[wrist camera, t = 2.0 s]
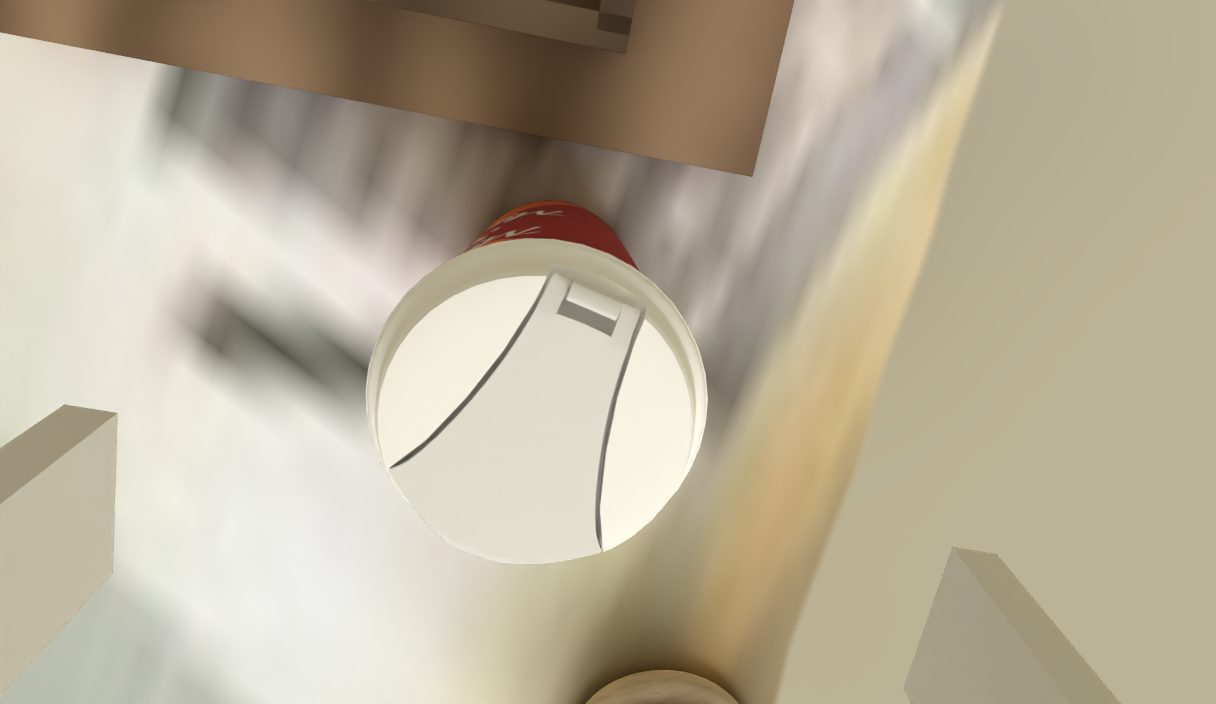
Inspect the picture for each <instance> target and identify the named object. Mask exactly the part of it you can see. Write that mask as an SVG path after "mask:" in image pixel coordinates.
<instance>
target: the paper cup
mask: <svg viewBox="0 0 1216 704" xmlns="http://www.w3.org/2000/svg"><path fill="white" fill-rule="evenodd" d="M707 401H708V396H707V386H706V375H705V370H704V366H703V363H702V359H701V355H700V351H699V348H698V346H697V344H696V342H695V339H694V337H693V335H692V333H691V331H690V328H689V326H688V324H687V323H686V321H685V320H684V318H683V317H682V315H681V314H680V312H679V311H678V309H677V308H676V306H675V305H674V303H673V302H672V301H671V300H670V299H669V298H668V297H667V296H666V295H665V294H664V293H663V292H662V290H661V289H660V288H659V287H658V286H657V285H656V284H655V283H654V282H652V281H651V280H650V279H648V278H647V277H646V276H645V275H643V274H642V273H641V272H640V271H639V270H638V268H637V266H636V265H635V263H634V262H633V260H632V258H631V257H630V255H629V254H628V252H627V250H626V249H625V247H624V246H623V244H622V243H621V241H620V240H619V239H618V237H617V236H616V235H615V233H614V232H613V231H612V230H611V229H610V227H609V226H608V225H607V224H606V223H604V222H603V221H602V220H601V219H600V218H599V217H597V216H596V215H594V214H593V213H591V212H590V211H588V210H586V209H584V208H582V207H579V206H577V205H574V204H571V203H567V202H561V201H537V202H532V203H528V204H525V205H522V206H519V207H517V208H515V209H513V210H511V211H509V212H507V213H506V214H504V215H503V216H501V217H500V218H499V219H497V220H496V221H495V222H494V223H493V224H491V225H490V226H489V227H488V228H487V229H486V230H485V231H484V232H483V233H482V234H481V235H480V236H479V237H478V238H477V239H476V240H475V241H474V242H473V243H472V244H471V245H470V247H469V248H468V249H467V250H466V251H465V252H464V253H463V254H461V255H459V256H457V257H455V258H453V259H450V260H448V261H446V262H445V263H443V264H442V265H440V266H439V267H437V268H436V269H435V270H433V271H432V272H430V273H429V274H427V275H426V276H424V277H423V278H422V279H421V280H420V281H419V282H418V283H417V284H416V285H415V286H414V287H413V288H412V289H411V290H410V291H409V292H408V293H407V294H406V295H404V297H403V298H402V299H401V301H400V302H399V303H398V305H397V306H396V308H395V309H394V310H393V312H392V313H391V314H390V316H389V317H388V319H387V321H386V323H385V325H384V327H383V329H382V331H381V333H380V335H379V337H378V339H377V341H376V343H375V347H374V350H373V353H372V357H371V360H370V363H369V367H368V375H367V384H366V410H367V420H368V424H369V429H370V433H371V438H372V442H373V444H374V447H375V449H376V452H377V454H378V457H379V459H380V462H381V464H382V466H383V467H384V469H385V471H386V472H387V474H388V476H389V477H390V479H391V481H392V482H393V484H394V486H395V487H396V488H397V489H398V490H399V492H400V493H401V494H402V495H403V496H404V498H405V499H406V500H407V501H408V502H409V504H410V505H411V506H412V507H413V508H414V509H415V510H416V511H417V513H418V515H419V516H420V517H421V518H422V519H423V520H424V521H425V522H426V523H427V524H428V525H429V526H430V528H431V529H432V530H433V531H434V532H435V533H436V534H437V535H439V536H440V537H441V538H442V539H443V540H444V541H446V542H447V543H449V544H450V545H452V546H454V547H456V548H458V549H460V550H462V551H464V552H467V553H469V554H472V555H474V556H477V557H480V558H483V559H487V560H491V561H495V562H501V563H522V564H548V563H554V562H560V561H566V560H572V559H577V558H581V557H585V556H589V555H593V554H598V553H601V546H603V552H605V551H607V550H609V549H612V548H614V547H616V546H617V545H619V544H620V543H622V542H624V541H625V540H627V539H629V538H630V537H632V536H633V535H635V534H636V533H637V532H638V531H639V530H641V529H642V528H643V527H644V526H645V525H647V524H648V523H649V522H650V521H651V520H652V519H653V518H654V517H655V516H656V515H657V513H658V512H659V511H660V510H661V509H662V508H663V507H664V505H665V504H666V503H667V502H668V500H669V499H670V498H671V497H672V496H673V494H674V493H675V492H676V491H677V490H678V488H679V487H680V485H681V483H682V482H683V480H684V479H685V477H686V475H687V474H688V472H689V471H690V469H691V467H692V464H693V462H694V460H695V457H696V455H697V453H698V450H699V448H700V445H701V441H702V437H703V432H704V428H705V424H706V414H707Z"/></svg>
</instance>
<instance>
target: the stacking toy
mask: <svg viewBox="0 0 1216 704" xmlns="http://www.w3.org/2000/svg"><path fill="white" fill-rule="evenodd" d="M586 704H739V703H738V702H737V701H736V700H735V699H734V698H733V697H732V696H731V695H730V694H729V693H728V692H726V691H725V690H724V689H723V688H721V687H720V686H718V685H716V684H715V683H713V682H711V681H709V680H707V679H705V678H703V677H700V676H697V675H694V674H692V673H687V672H683V671H676V670H651V671H644V672H639V673H635V674H631V675H628V676H625V677H622V678H620V679H617V680H615V681H613V682H612V683H610V684H608V685H606V686H605V687H603V688H602V689H601V690H599V691H598V692H597V693H596V694H594V695H593V696H592V697H591V698H590V699H589V700H588V701H587V702H586Z"/></svg>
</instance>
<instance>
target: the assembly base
mask: <svg viewBox="0 0 1216 704" xmlns="http://www.w3.org/2000/svg"><path fill="white" fill-rule="evenodd" d="M793 3H794V0H0V32H1V33H7V34H12V35H17V36H22V37H27V38H33V39H38V40H43V41H48V42H53V43H59V44H64V45H69V46H74V47H79V48H85V49H90V50H95V51H100V52H106V53H111V54H116V55H121V56H126V57H132V58H137V59H142V60H147V61H152V62H158V63H163V64H168V65H173V66H178V67H184V68H189V69H194V70H199V71H204V72H210V73H215V74H220V75H225V76H230V77H236V78H241V79H246V80H251V81H256V82H262V83H267V84H272V85H277V86H282V87H288V88H293V89H298V90H303V91H308V92H314V93H319V94H324V95H329V96H334V97H340V98H345V99H350V100H355V101H361V102H366V103H371V104H376V105H381V106H387V107H392V108H397V109H402V110H407V111H413V112H418V113H423V114H428V115H433V116H439V117H444V118H449V119H454V120H459V121H465V122H470V123H475V124H480V125H485V126H491V127H496V128H501V129H506V130H511V131H517V132H522V133H527V134H532V135H537V136H543V137H548V138H553V139H558V140H563V141H569V142H574V143H579V144H584V145H590V146H595V147H600V148H605V149H610V150H616V151H621V152H626V153H631V154H636V155H642V156H647V157H652V158H657V159H662V160H668V161H673V162H678V163H683V164H688V165H694V166H699V167H704V168H709V169H714V170H720V171H725V172H730V173H735V174H740V175H746V176H751V177H753V172H754V168H755V164H756V160H757V155H758V151H759V147H760V143H761V139H762V134H763V130H764V126H765V122H766V117H767V113H768V109H769V105H770V101H771V96H772V92H773V88H774V84H775V79H776V75H777V71H778V67H779V63H780V58H781V54H782V50H783V46H784V41H785V37H786V33H787V29H788V25H789V20H790V16H791V12H792V8H793Z"/></svg>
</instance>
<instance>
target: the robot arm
mask: <svg viewBox="0 0 1216 704" xmlns="http://www.w3.org/2000/svg"><path fill="white" fill-rule="evenodd" d="M117 414H118V413H114V412H107V411H101V410H95V409H89V408H82V407H76V406H70V405H63V406H62V407H60V408H59V409H57V410H56V411H55V412H53V413H52V414H50V415H49V416H47V417H46V418H44V419H43V420H41V421H40V422H38V423H37V424H35V425H34V426H32V427H31V428H30V429H28V430H27V431H25V432H24V433H22V434H21V435H19V436H18V437H16V438H15V439H13V440H12V441H10V442H9V443H7V444H6V445H5V446H3V447H2V448H0V697H1V696H2V695H3V694H4V693H5V691H6V690H7V689H8V688H9V687H10V686H11V685H12V684H13V683H14V681H15V680H16V679H17V678H18V677H19V676H20V675H21V674H22V673H23V671H24V670H25V669H26V668H27V667H28V666H29V665H30V664H31V663H32V661H33V660H34V659H35V658H36V657H37V656H38V655H39V654H40V653H41V651H42V650H43V649H44V648H45V647H46V646H47V645H48V644H49V643H50V642H51V640H52V639H53V638H54V637H55V636H56V635H57V634H58V633H59V632H60V630H61V629H62V628H63V627H64V626H65V625H66V624H67V623H68V622H69V620H70V619H71V618H72V617H73V616H74V615H75V614H76V613H77V612H78V610H79V609H80V608H81V607H82V606H83V605H84V604H85V603H86V602H87V600H88V599H89V598H90V597H91V596H92V595H93V594H94V593H95V592H96V590H97V589H98V588H99V587H100V586H101V585H102V584H103V583H104V582H105V581H106V579H107V578H108V577H109V576H110V575H111V574H112V573H113V552H114V517H115V483H116V449H117ZM904 690H905V692H906V694H907V696H908V698H909V700H910V702H911V704H1121V703H1120V702H1119V701H1118V700H1117V698H1116V697H1115V696H1114V695H1113V694H1112V692H1111V691H1110V690H1109V689H1108V688H1107V686H1106V685H1105V684H1104V683H1103V682H1102V680H1101V679H1100V678H1099V677H1098V675H1097V674H1096V673H1095V672H1094V671H1093V669H1092V668H1091V667H1090V666H1089V665H1088V664H1087V662H1086V661H1085V660H1084V659H1083V658H1082V656H1081V655H1080V654H1079V653H1078V651H1077V650H1076V649H1075V648H1074V647H1073V645H1072V644H1071V643H1070V642H1069V641H1068V639H1067V638H1066V637H1065V636H1064V634H1063V633H1062V632H1061V631H1060V630H1059V628H1058V627H1057V626H1056V625H1055V624H1054V622H1053V621H1052V620H1051V619H1050V618H1049V616H1048V615H1047V614H1046V613H1045V612H1044V610H1043V609H1042V608H1041V607H1040V606H1039V605H1038V603H1037V602H1036V601H1035V600H1034V598H1033V597H1032V596H1031V595H1030V593H1028V591H1027V590H1026V589H1025V588H1024V586H1023V585H1022V584H1021V583H1020V581H1019V580H1018V579H1017V578H1016V577H1015V575H1014V574H1013V573H1012V572H1011V571H1010V569H1009V568H1008V567H1007V566H1006V565H1005V564H1004V562H1003V561H1002V560H1001V559H1000V557H999V556H998V555H997V554H992V553H986V552H979V551H973V550H966V549H961V548H954V547H952V549H951V552H950V555H949V558H948V561H947V564H946V567H945V569H944V572H943V575H942V578H941V581H940V584H939V587H938V589H937V592H936V595H935V598H934V601H933V604H932V607H931V610H930V612H929V616H928V618H927V621H926V624H925V627H924V630H923V633H922V636H921V638H920V641H919V644H918V647H917V650H916V653H915V656H914V659H913V661H912V665H911V667H910V670H909V673H908V676H907V679H906V682H905V684H904Z"/></svg>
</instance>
